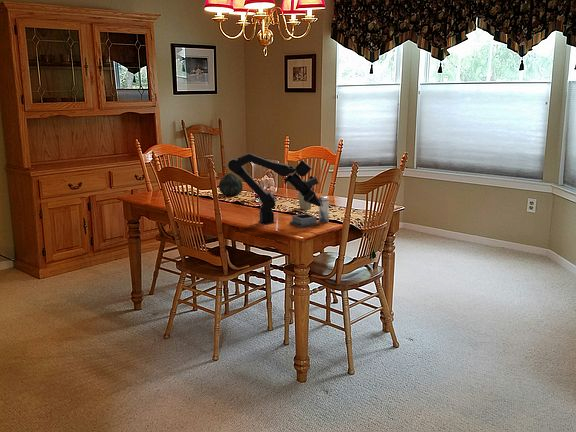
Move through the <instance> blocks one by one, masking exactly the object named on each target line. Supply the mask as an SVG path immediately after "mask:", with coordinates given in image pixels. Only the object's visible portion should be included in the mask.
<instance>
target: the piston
mask: <svg viewBox="0 0 576 432" xmlns="http://www.w3.org/2000/svg"><path fill="white" fill-rule="evenodd" d="M318 199H319V202H320V204H321V206H318V223H319V224H320V223H321V224H326V223H330V222H329V220H330V218H329V217H330V216H329V214H330V211H329V210H330V209H329V207H330V204H329V202H330V198H329V196H328V195H321V196H318Z"/></svg>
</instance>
